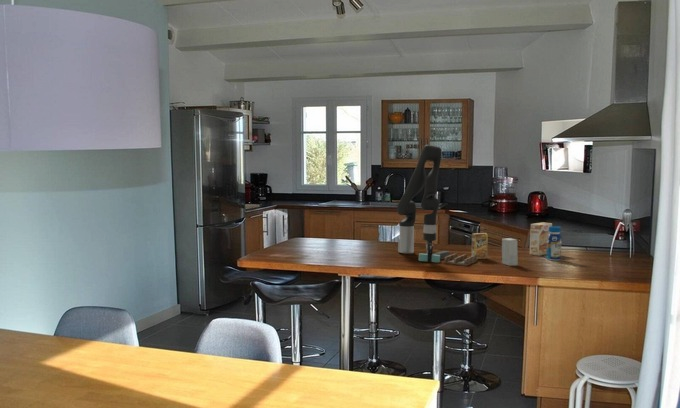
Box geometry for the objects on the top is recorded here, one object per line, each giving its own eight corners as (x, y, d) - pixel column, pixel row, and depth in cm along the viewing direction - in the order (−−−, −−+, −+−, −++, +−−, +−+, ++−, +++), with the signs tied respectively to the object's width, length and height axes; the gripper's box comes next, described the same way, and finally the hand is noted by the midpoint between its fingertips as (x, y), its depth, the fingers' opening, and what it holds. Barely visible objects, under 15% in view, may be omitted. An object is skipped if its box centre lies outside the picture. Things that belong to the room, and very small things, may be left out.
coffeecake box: (539, 255, 369) (540, 224, 367) (528, 254, 374) (529, 223, 373) (551, 253, 379) (552, 223, 377) (541, 251, 384) (542, 222, 383)
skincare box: (517, 265, 337) (518, 239, 336) (508, 265, 336) (508, 240, 334) (510, 262, 345) (511, 237, 344) (500, 263, 344) (501, 237, 342)
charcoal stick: (438, 260, 353) (438, 253, 352) (433, 259, 355) (433, 253, 355) (449, 257, 361) (449, 251, 361) (444, 257, 364) (444, 250, 363)
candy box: (474, 259, 356) (475, 234, 354) (470, 258, 360) (471, 233, 358) (487, 258, 358) (488, 233, 357) (483, 257, 362) (484, 232, 361)
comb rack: (466, 265, 335) (466, 259, 335) (443, 263, 343) (443, 257, 342) (477, 260, 350) (477, 255, 350) (455, 258, 358) (455, 252, 358)
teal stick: (419, 260, 346) (419, 254, 346) (418, 259, 349) (419, 253, 349) (439, 262, 346) (440, 255, 345) (438, 261, 349) (439, 254, 349)
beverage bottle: (550, 257, 362) (551, 225, 360) (563, 259, 356) (564, 226, 354) (543, 259, 356) (544, 226, 354) (557, 261, 350) (558, 228, 348)
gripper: (437, 233, 339) (437, 263, 340) (434, 230, 353) (434, 259, 354) (424, 233, 339) (423, 263, 341) (422, 230, 353) (421, 258, 355)
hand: (429, 260), depth 348 cm, fingers closed on teal stick, 3 cm apart
